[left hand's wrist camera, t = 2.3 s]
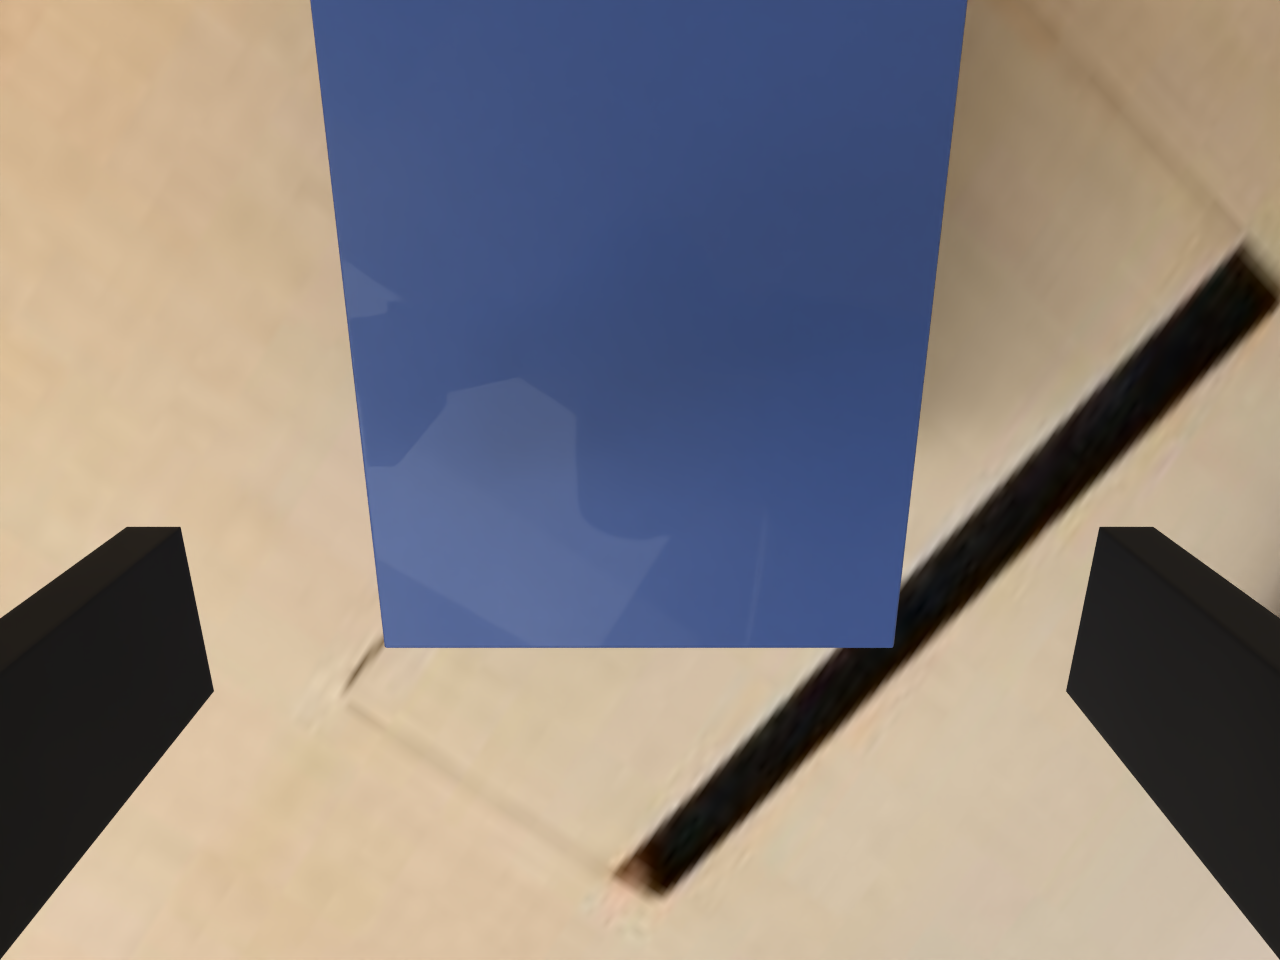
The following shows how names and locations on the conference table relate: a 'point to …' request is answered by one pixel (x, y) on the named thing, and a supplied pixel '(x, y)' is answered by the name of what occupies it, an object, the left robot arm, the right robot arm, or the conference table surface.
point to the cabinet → (638, 310)
